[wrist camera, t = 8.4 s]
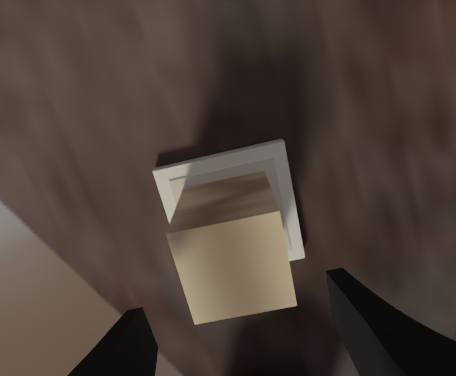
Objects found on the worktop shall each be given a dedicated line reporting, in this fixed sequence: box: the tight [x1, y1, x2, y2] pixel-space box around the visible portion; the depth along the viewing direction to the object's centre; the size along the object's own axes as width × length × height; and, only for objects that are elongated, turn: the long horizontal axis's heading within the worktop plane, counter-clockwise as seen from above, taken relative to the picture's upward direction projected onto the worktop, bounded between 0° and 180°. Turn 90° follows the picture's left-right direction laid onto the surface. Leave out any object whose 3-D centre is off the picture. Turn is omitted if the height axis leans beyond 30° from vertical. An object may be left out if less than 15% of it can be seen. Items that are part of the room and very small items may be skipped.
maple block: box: [166, 171, 297, 324], centre depth 18 cm, size 5×5×6 cm
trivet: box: [153, 139, 305, 261], centre depth 21 cm, size 8×8×1 cm
